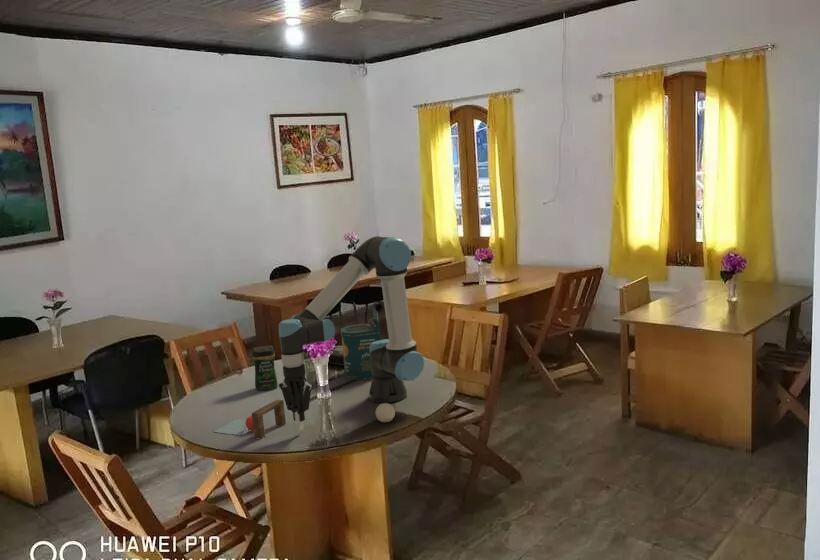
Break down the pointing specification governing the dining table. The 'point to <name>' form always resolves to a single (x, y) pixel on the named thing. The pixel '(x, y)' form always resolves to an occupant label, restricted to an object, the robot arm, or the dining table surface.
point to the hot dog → (337, 356)
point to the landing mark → (233, 427)
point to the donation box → (359, 347)
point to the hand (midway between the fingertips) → (300, 429)
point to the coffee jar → (264, 368)
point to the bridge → (258, 415)
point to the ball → (249, 423)
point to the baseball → (385, 412)
